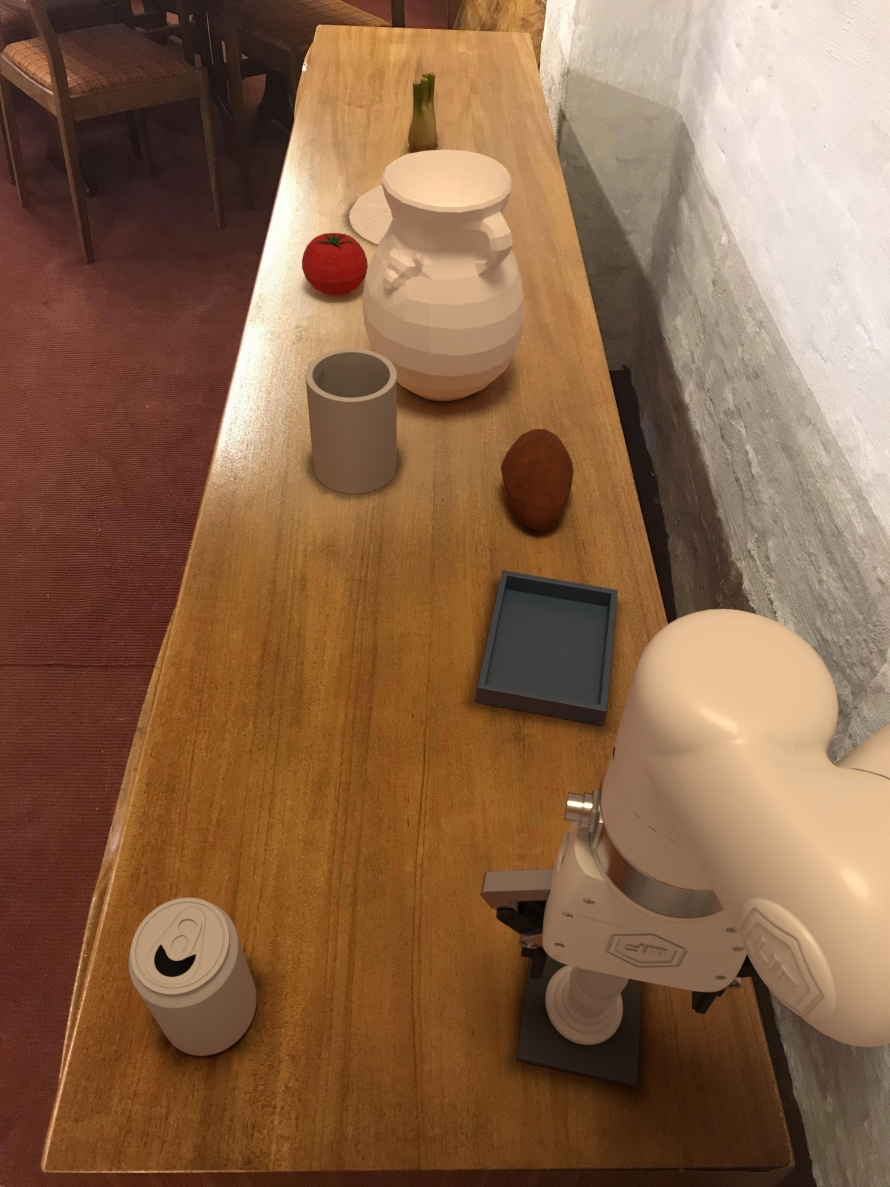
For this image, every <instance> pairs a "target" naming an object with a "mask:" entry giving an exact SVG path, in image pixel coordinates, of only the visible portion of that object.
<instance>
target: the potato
mask: <svg viewBox="0 0 890 1187" xmlns="http://www.w3.org/2000/svg"><path fill="white" fill-rule="evenodd" d="M500 471H501V477H502V482H503V483H502V484H503V486H504V491H505V495H506V497H507V500H508V502H509V505H510V508H511V510H512V512H513V513H514V514H515V516H516V517H517V518H518V520H519V521H520V522H521V523H522V524H523V525H525V526H526V527H527V528H528V529H532V530H535V531H537V530H546V529H547V528H550V527H552V526H553V525H555V524H556V523H558V521H559V519H560V518H561V517H562V515H563V513H564V511H565V509H566V507H567V504H568V501H569V500H568V499H569V497H570V496H569V495H570V493H571V489H572V486H573V485H572V484H573V479H574V478H573V477H574V464H573V460H572V457H571V456H570V454H569V452H568V450H567V448H566V446H565V445H564V443H563V441H562V440H561V438H560V437H559V436H558V435H557V434H556V433H554V432H552V431H550V430H548V429H544V428H533V429H531V430H529V431H528V430H527V431H525V432H524V433H522V434H521V435H519V437H518V438H517V439H515V442H514V443H513V444H512V445H511V447H510V448H509V449H508V451H507V452H506V453H505V456H504V458H503V460H502V463H501V467H500Z"/></svg>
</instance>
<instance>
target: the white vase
mask: <svg viewBox="0 0 890 1187" xmlns="http://www.w3.org/2000/svg"><path fill="white" fill-rule="evenodd" d="M380 181H381V185H382V187H383V191H384V195H385V198H386V200H387V203H388V205H389V207H390V210H391V213H392V218H393V219H392V221H391V224H390V226H389V228H388V230H387V232H386V233H385V235H384V236H383V238H382V239H381V241H380V242H379V244H377V247H376V248H375V251H374V253H373V255H372V258H371V260H370V263H369V265H368V268H367V273H366V276H365V279H364V284H363V293H362V298H361V299H362V300H361V304H362V313H363V325H364V328H365V331H366V335H367V339H368V343H369V345H370V348H371V349H372V351H373V352H376V353H378V354H380V355H382V356H384V357H386V358H387V359H388V360H390V362H391V363H392V364H393V366H394V367H395V369H396V373H397V384H399V385H400V386H401V387H403V388H405V389H407V391H410V392H411V393H413V394H415V395H417V396H419V397H421V398H423V399H426V400H430V401H435V402H449V401H457V400H461V399H463V398H466V397H469V396H471V395H474V394H475V393H476V394H477V392H480V391H482V390H484V389H485V388H487V387H488V386H489V385H490V384H492V382H493V381H495V380H496V379H497V378H498V377H499V376H500V375H502V374H503V373H504V372H505V371H506V370H507V369H508V367H509V365H510V363H511V361H512V359H513V357H514V355H515V352H516V351H517V349H518V347H519V344H520V342H521V339H522V333H523V327H524V323H525V310H524V308H525V305H524V304H525V303H524V301H525V300H524V290H523V280H522V275H521V272H520V269H519V264H518V260H517V257H516V256H515V254H514V253H513V250H512V249H513V246H514V242H513V235H512V231H511V228H510V227H509V225H508V223H507V221H506V219H505V218H504V216H503V213H504V211H505V209H506V207H507V205H508V201H509V199H510V195H511V193H512V186H513V179H512V177H511V174H510V172H509V170H508V169H507V168H506V166H504V165H503V164H501V163H500V162H498V160H497V159H494V158H492V157H489V156H487V155H485V154H483V153H478V152H473V151H468V150H461V149H460V150H459V149H436V150H431V151H421V152H416V153H413V152H410V153H407V154H404V155H402V156H400V157H398V158H396V159H394V160H393V161H391V162H390V163H389V164H388V165H387V166H386V167H385V168H384V169H383V172H382V176H381V180H380Z"/></svg>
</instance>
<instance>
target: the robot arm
mask: <svg viewBox="0 0 890 1187" xmlns="http://www.w3.org/2000/svg"><path fill="white" fill-rule="evenodd" d="M838 716H839V701H838V693H837V688H836V684H835V682H834V679H833V676H832V674H831V673H830V671H829V669H828V667H827V665H826V663H825V662H824V660H823V658H821V656H820V655H819V654H818V652H817V651H816V650H815V649H814V648H813V647H812V646H811V645H810V644H809V643H808V642H807V640H805V639H804V638H803V637H801V636H800V635H799V634H797V633H796V632H794V630H792V629H790V628H789V627H787V626H785V625H783V624H781V623H779V622H778V621H776V620H773V619H771V618H769V617H766V616H764V615H760V614H756V613H753V612H749V611H744V610H739V609H731V608H715V609H713V608H712V609H704V610H699V611H694V612H692V613H689V614H686V615H683V616H680V617H678V618H676V619H675V620H673V621H671V622H669V623H668V624H666V625H665V626H664V627H662V628H661V630H659V632H657V633H656V634H654V635H653V636H652V638H651V639H650V641H649V642H648V643H647V645H646V646H645V647H644V649H643V651H642V652H641V655H640V657H639V659H638V662H637V664H636V667H635V671H634V674H633V677H632V680H631V684H630V687H629V691H628V695H627V698H626V701H625V704H624V709H623V712H622V714H621V718H620V722H619V726H618V730H617V734H616V738H615V741H614V744H613V748H612V752H611V755H610V758H609V762H608V766H607V768H606V773H605V774H604V773H603V774H602V776H601V779H600V783H599V787H598V789H597V790H596V789H592V791H591V792H587V791H584V792H583V794H582V793H581V794H580V793H575V792H570V791H569V792H567V794H566V799H565V800H566V801H565V807H564V815H563V821H566V822H572V823H571V824H570V826H569V828H568V830H567V831H566V834H565V835H564V837H563V840H562V841H561V844H560V846H559V849H558V851H557V853H556V855H555V859H554V861H553V865H552V868H533V869H532V868H531V869H511V870H491V871H486V872H484V873H483V878H482V884H481V890H480V896H481V898H482V899H483V900H484V902H486V904H487V905H488V906H489V907H490V908H491V909H493V910H495V911H496V913H495V918H496V919H497V920H498V921H499V922H500V923H502V924H504V925H505V926H507V927H508V928H510V929H511V930H513V931H515V932H516V933H517V934H519V940H518V944H519V946H521V950H520V957H522V958H528V959H529V958H532V960H531V967H530V975H529V978H531V979H536V980H538V978H542V974H543V970H544V966H545V962H546V959H547V954H548V955H549V956H550V957H551V958H553V959H554V960H556V961H558V962H561V963H563V964H566V965H570V966H573V967H577V968H582V969H586V970H591V971H595V972H600V973H605V974H609V975H614V976H619V977H624V978H629V979H633V980H638V981H642V983H643V982H645V983H649V984H654V985H659V986H665V987H670V988H676V989H680V990H687V991H691V1009H692V1010H694V1013H697V1014H701V1015H705V1014H706V1013H707V1012H708V1010H709V1009H710V1008H711V1006H712V1004H713V1003H714V1001H715V1000H716V999H717V997H720V998H721V997H722V996H723V995H724V993H725V992H726V990H727V989H729V990H736V989H737V990H738V989H740V988H742V979H745V978H752V977H759V978H760V979H761V980H762V982H763V983H764V984H765V986H766V987H767V988H768V990H769V991H770V992H771V993H772V994H773V996H774V997H776V999H777V1000H778V1001H779V1002H780V1003H782V1004H783V1006H785V1007H786V1008H788V1010H790V1011H792V1012H793V1013H794V1014H796V1015H797V1016H799V1017H800V1018H801V1019H803V1020H804V1021H805V1022H806V1023H807V1024H808V1025H810V1026H811V1027H812V1028H814V1029H816V1030H817V1031H819V1032H820V1033H821V1034H823V1035H824V1036H826V1037H829V1038H831V1039H833V1040H835V1041H837V1042H839V1043H841V1044H845V1045H848V1046H853V1047H861V1048H873V1047H880V1046H884V1045H887V1044H890V721H889V722H888V723H886V724H884V725H883V726H882V727H881V728H879V729H878V730H877V731H875V732H873V733H872V734H871V735H869V736H868V737H867V738H865V739H864V740H863V741H862V742H860V743H859V744H858V745H857V746H855V747H854V748H853V749H851V750H850V751H848V752H847V753H846V754H845V755H843V756H842V757H841V758H839V759H838V760H836V761H835V762H834V763H833V762H832V761H831V759H830V758H829V757H828V754H827V751H828V748H829V747H830V745H831V742H832V740H833V738H834V736H835V733H836V728H837V723H838Z"/></svg>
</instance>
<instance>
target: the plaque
mask: <svg viewBox="0 0 890 1187" xmlns="http://www.w3.org/2000/svg"><path fill="white" fill-rule="evenodd" d="M348 216H349V217H348V218H349V222H350V225H351V227H352V229H353V230H354V231H355V232H356V233H357V234H358V235H359V236H360V237H362V238H363V239H365V240H367V241H369V242H371V243H372V244H373V243H374V244H376V245H378V244H379V242H380V241H381V239H382V238H383V236H384V235H385V233H386V232H387V230H388V228H389V226H390V224H391V221H392V219H393V218H392V213H391V210H390V207H389V205H388V203H387V200H386V198H385V195H384V191H383V187H382V184H380V185H378V186H375V187H374V188H371V189H369V190H367V192H364V193H362V195H361V196H359V197H358V198H357V200H355V202H354V204H353V206H352V207H351V209H350V210H349V215H348Z"/></svg>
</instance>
